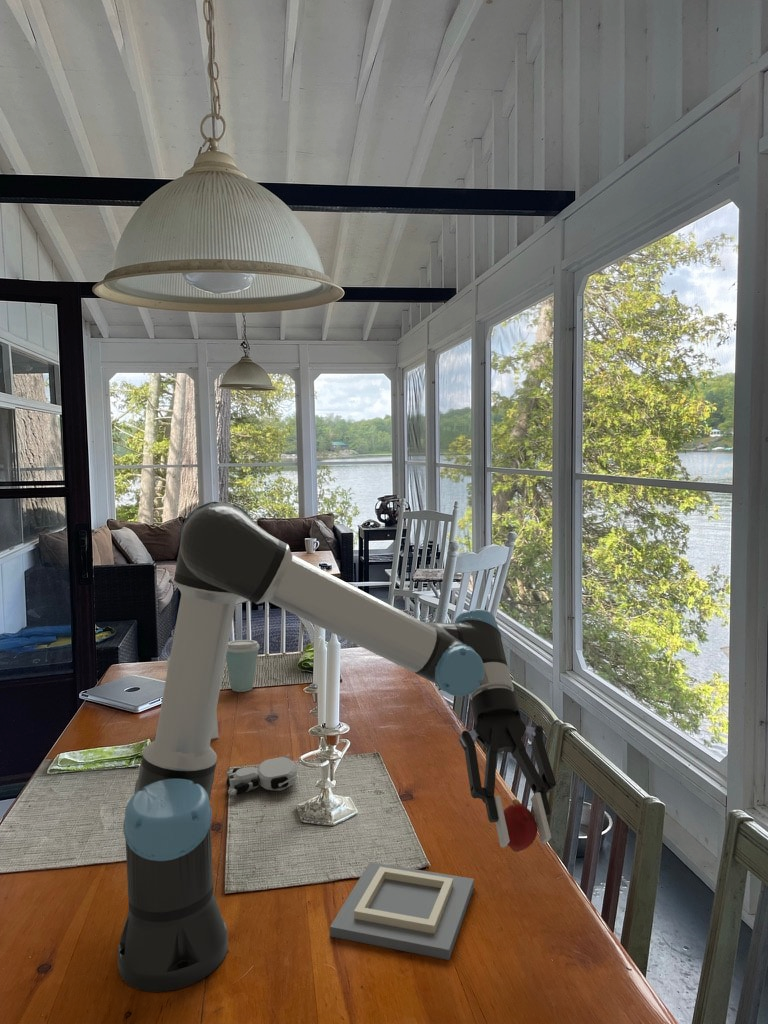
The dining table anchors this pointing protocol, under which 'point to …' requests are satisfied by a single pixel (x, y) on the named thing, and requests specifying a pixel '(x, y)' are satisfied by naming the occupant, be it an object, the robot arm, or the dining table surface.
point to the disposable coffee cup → (242, 664)
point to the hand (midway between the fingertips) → (525, 841)
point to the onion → (520, 826)
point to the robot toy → (263, 776)
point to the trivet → (405, 910)
